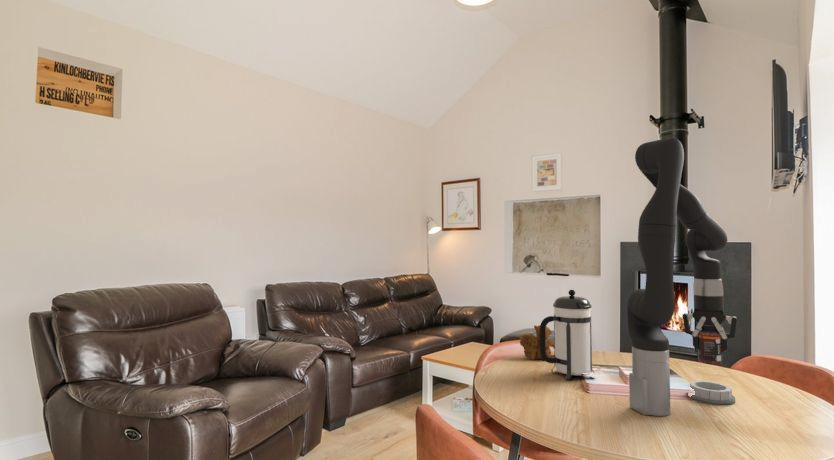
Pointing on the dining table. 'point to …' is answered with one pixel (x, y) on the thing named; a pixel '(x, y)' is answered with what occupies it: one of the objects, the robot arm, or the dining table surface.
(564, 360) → the coffee press
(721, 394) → the bottle socket
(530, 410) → the dining table surface
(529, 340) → the stuffed squirrel
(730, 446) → the dining table surface
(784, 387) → the dining table surface
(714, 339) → the supplement bottle
